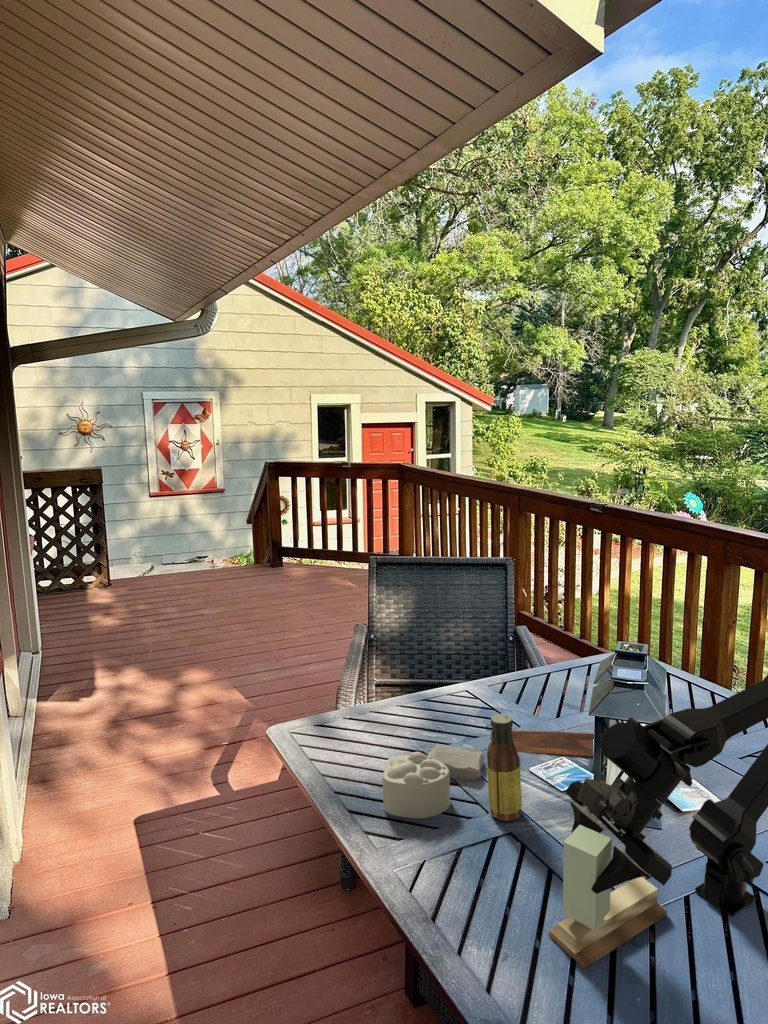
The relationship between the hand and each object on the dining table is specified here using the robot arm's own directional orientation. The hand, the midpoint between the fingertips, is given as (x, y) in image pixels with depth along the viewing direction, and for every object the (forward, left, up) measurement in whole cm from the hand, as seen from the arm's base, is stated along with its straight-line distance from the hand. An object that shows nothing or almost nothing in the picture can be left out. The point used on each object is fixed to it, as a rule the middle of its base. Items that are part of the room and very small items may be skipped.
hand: (579, 875), depth 101 cm
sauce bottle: (-11, -30, -12) cm, 34 cm away
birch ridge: (-6, 0, -11) cm, 13 cm away
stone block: (-13, -48, -12) cm, 51 cm away
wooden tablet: (-36, -44, -12) cm, 58 cm away
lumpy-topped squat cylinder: (+1, -42, -12) cm, 44 cm away
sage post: (-1, 0, -7) cm, 7 cm away
